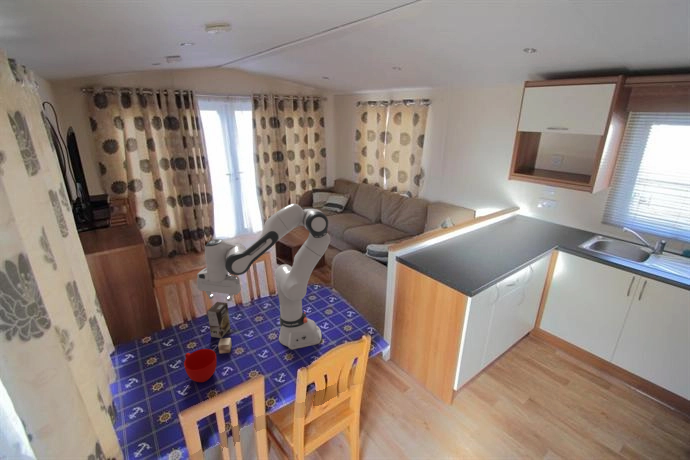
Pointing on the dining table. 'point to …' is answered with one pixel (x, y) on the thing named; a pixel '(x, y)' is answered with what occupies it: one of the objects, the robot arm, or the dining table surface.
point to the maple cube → (225, 345)
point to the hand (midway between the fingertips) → (220, 299)
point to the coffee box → (219, 319)
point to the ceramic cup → (200, 364)
